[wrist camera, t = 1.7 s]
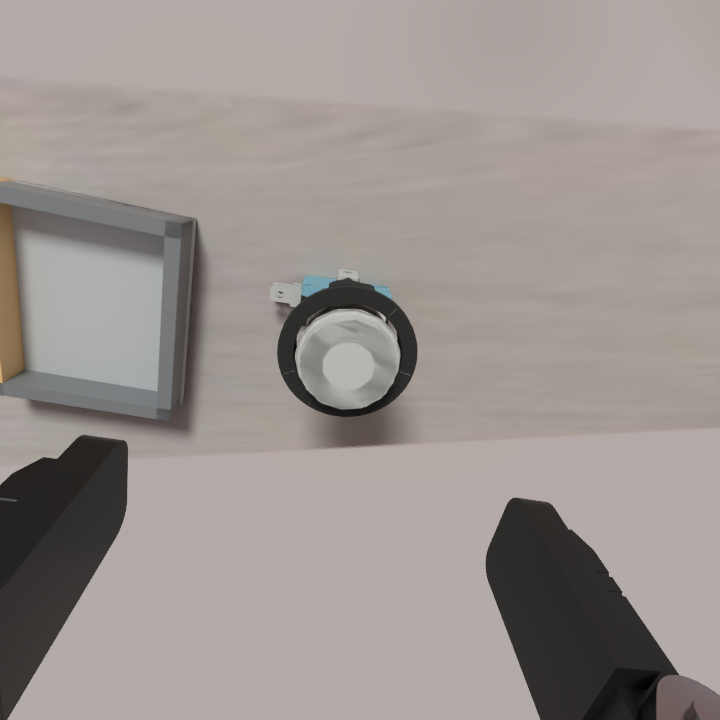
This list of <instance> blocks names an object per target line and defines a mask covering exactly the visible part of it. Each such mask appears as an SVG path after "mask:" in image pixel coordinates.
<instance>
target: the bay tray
mask: <svg viewBox="0 0 720 720" xmlns="http://www.w3.org/2000/svg"><path fill="white" fill-rule="evenodd" d="M196 221H197V219H195V218H190V217H185V216H181V215H176V214H171V213H166V212H162V211H157V210H152V209H148V208H143V207H138V206H134V205H129V204H124V203H120V202H115V201H110V200H106V199H101V198H96V197H91V196H87V195H82V194H77V193H73V192H68V191H63V190H59V189H54V188H49V187H45V186H40V185H35V184H31V183H26V182H21V181H16V180H12V179H7V178H2V177H0V395H5V396H11V397H17V398H24V399H30V400H37V401H43V402H49V403H56V404H62V405H68V406H75V407H81V408H88V409H94V410H100V411H107V412H113V413H119V414H126V415H132V416H138V417H145V418H151V419H158V420H164V421H170V420H171V419H172V417H173V416H174V414H175V413H176V411H177V410H178V409H179V407H180V406H181V404H182V403H183V400H184V387H185V373H186V359H187V345H188V332H189V318H190V304H191V290H192V277H193V263H194V249H195V235H196Z"/></svg>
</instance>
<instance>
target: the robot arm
mask: <svg viewBox="0 0 720 720" xmlns="http://www.w3.org/2000/svg"><path fill="white" fill-rule="evenodd" d="M127 470H128V447H127V443H126V442H125V441H124V440H117V439H110V438H103V437H96V436H89V435H81V436H80V437H78V438H77V439H76V440H75V441H74V442H73V443H72V444H71V445H70V446H69V447H68V448H67V449H66V450H65V451H64V452H63V454H62V455H61V456H60V457H59V458H58V459H53V458H46V457H43V458H41V459H39V460H37V461H36V462H34V463H32V464H30V465H28V466H26V467H24V468H22V469H20V470H18V471H16V472H14V473H13V474H11V475H10V477H8V478H7V479H6V480H5V481H4V482H3V483H2V484H1V485H0V720H7V719H8V717H9V716H10V714H11V712H12V711H13V709H14V707H15V705H16V704H17V702H18V701H19V699H20V697H21V696H22V694H23V692H24V691H25V689H26V687H27V685H28V684H29V682H30V680H31V679H32V677H33V675H34V674H35V672H36V670H37V669H38V667H39V665H40V664H41V662H42V660H43V659H44V657H45V655H46V654H47V652H48V650H49V649H50V646H51V645H52V643H53V642H54V640H55V639H56V637H57V635H58V633H59V632H60V630H61V629H62V627H63V625H64V624H65V621H66V620H67V618H68V617H69V615H70V613H71V612H72V610H73V608H74V607H75V605H76V603H77V602H78V600H79V598H80V597H81V595H82V593H83V592H84V590H85V588H86V587H87V585H88V583H89V582H90V580H91V578H92V577H93V575H94V573H95V572H96V570H97V568H98V566H99V565H100V563H101V561H102V560H103V558H104V557H105V555H106V553H107V551H108V550H109V548H110V546H111V545H112V543H113V541H114V540H115V538H116V536H117V534H118V532H119V530H120V528H121V525H122V523H123V519H124V516H125V512H126V506H127V472H128V471H127ZM486 573H487V578H488V582H489V584H490V587H491V590H492V592H493V595H494V598H495V600H496V603H497V606H498V608H499V611H500V613H501V616H502V619H503V621H504V624H505V627H506V629H507V632H508V634H509V637H510V640H511V643H512V645H513V648H514V651H515V653H516V656H517V659H518V661H519V664H520V667H521V669H522V672H523V675H524V677H525V680H526V683H527V685H528V688H529V691H530V693H531V696H532V698H533V701H534V703H535V706H536V709H537V712H538V714H539V717H540V720H720V696H719V695H718V694H717V693H716V692H714V691H712V690H711V689H710V688H708V687H706V686H705V685H703V684H701V683H699V682H697V681H695V680H693V679H690V678H687V677H684V676H680V675H679V674H678V673H677V671H676V670H675V668H674V667H673V665H672V664H671V662H670V661H669V659H668V658H667V657H666V655H665V654H664V652H663V651H662V649H661V648H660V646H659V645H658V643H657V642H656V641H655V639H654V638H653V636H652V635H651V633H650V632H649V630H648V629H647V627H646V626H645V624H644V623H643V622H642V620H641V619H640V617H639V616H638V614H637V613H636V611H635V610H634V608H633V607H632V605H631V604H630V603H629V602H628V600H627V598H626V597H624V596H622V591H621V590H620V588H619V587H618V585H617V584H616V582H615V581H614V579H613V578H612V577H609V572H608V570H607V569H606V568H605V566H604V565H603V563H602V562H601V560H600V559H599V557H598V556H597V554H596V553H595V552H594V550H593V549H592V548H591V547H590V546H589V545H587V544H586V543H585V542H584V541H583V540H582V539H581V538H580V537H579V536H578V535H577V534H576V533H574V532H573V531H572V530H568V528H567V527H566V525H565V524H564V522H563V521H562V519H561V517H560V516H559V515H558V513H557V511H556V510H555V508H554V507H553V506H552V505H551V504H550V503H548V502H542V501H535V500H528V499H521V498H512V499H511V500H510V501H509V502H508V504H507V506H506V508H505V510H504V513H503V515H502V517H501V520H500V522H499V525H498V527H497V529H496V532H495V534H494V536H493V538H492V541H491V543H490V545H489V548H488V551H487V555H486Z"/></svg>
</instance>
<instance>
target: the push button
mask: <svg viewBox="0 0 720 720" xmlns="http://www.w3.org/2000/svg"><path fill="white" fill-rule="evenodd" d="M346 272H348V273H346ZM358 280H359V277H358V272H356V271H351V270H345V269H338V280H336V279H330V278H323V277H316V276H305V278H304V281H303V284H302V283H295V282H293V285H290V284H283V283H276V282H274V283H273V286H272V287H271V289H270V300H271V301H275V302H282V303H290V306H292V307H295V308H294V310H293V311H292V312H291V313H290V315H289V316H288V318H287V320H286V321H285V323H284V326H283V328H282V331H281V334H280V337H279V341H278V351H277V355H278V363H279V368H280V371H281V374H282V376H283V379H284V381H285V382H286V384H287V386H288V387H289V389H290V390H291V391H292V392H293V394H294V395H295V396H296V397H297V398H298V399H300V400H301V401H302V402H303V403H305V404H306V405H308V406H309V407H311V408H313V409H315V410H317V411H319V412H322V413H325V414H329V415H333V416H341V417H353V416H361V415H365V414H369V413H372V412H375V411H377V410H379V409H381V408H383V407H385V406H386V405H388V404H389V403H391V402H392V401H393V400H395V399H396V398H397V397H398V396H399V395H400V394H401V393H402V392H403V390H404V389H405V388H406V386H407V385H408V383H409V381H410V380H411V377H412V375H413V373H414V370H415V366H416V362H417V341H416V337H415V333H414V330H413V328H412V326H411V324H410V322H409V320H408V318H407V316H406V315H405V313H404V312H403V311H402V309H401V308H400V307H399V306H398V305H397V304H396V303H395V302H394V301H392V296H391V294H390V291H389V288H388V287H386V286H381V285H370V284H363V283H359V282H358ZM281 287H283V288H281ZM278 291H281V292H282V293H283V294H280V293H279V292H278ZM278 297H281V298H278ZM388 320H389V321H390V322H391V323H392V324H393V326H394V327H395V329H396V331H397V339H396V336H395V334H394V333H393V331H392V330H391V329H390V328H389V327H388V326H387V323H388ZM302 326H306V329H305V330H304V332H303V333H302V334H301V336H300V338H299V342H298V345H297V341H296V338H297V334H298V332H299V330H300V328H301V327H302Z"/></svg>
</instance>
